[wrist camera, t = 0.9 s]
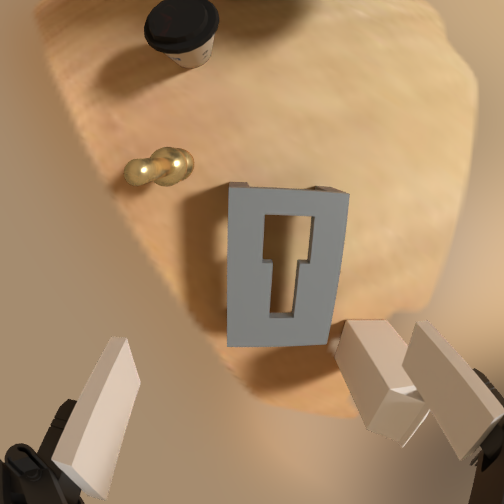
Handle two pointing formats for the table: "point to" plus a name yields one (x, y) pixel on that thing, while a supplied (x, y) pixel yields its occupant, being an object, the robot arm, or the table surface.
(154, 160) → the brass t bolt
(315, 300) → the keyhole plate
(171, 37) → the coffee cup
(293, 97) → the table surface
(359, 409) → the milk carton
